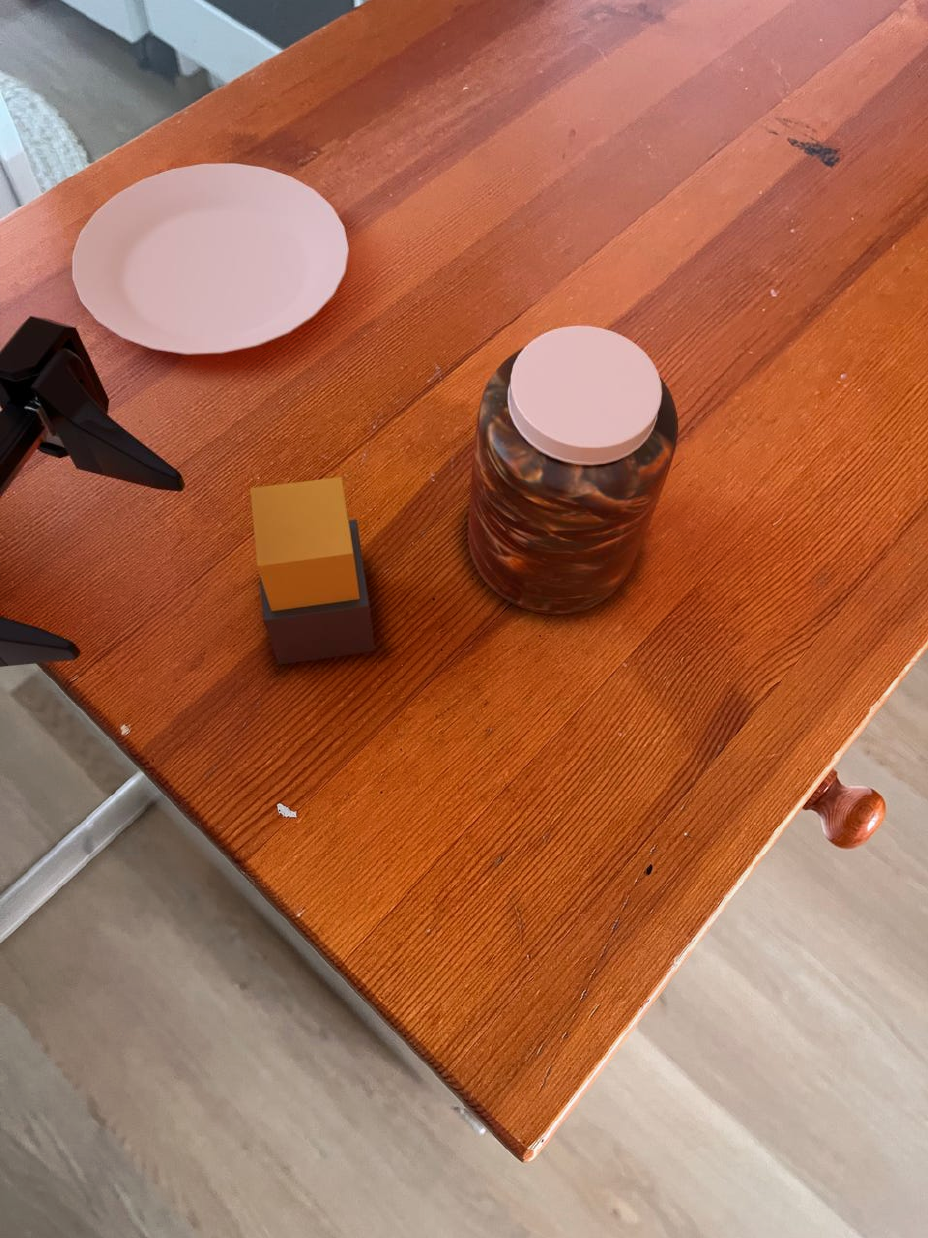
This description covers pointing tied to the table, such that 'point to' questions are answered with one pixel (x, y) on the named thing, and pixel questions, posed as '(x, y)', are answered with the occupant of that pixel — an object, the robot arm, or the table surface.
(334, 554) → the top block
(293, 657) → the base block
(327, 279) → the plate
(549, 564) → the jar
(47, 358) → the robot arm
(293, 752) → the table surface
